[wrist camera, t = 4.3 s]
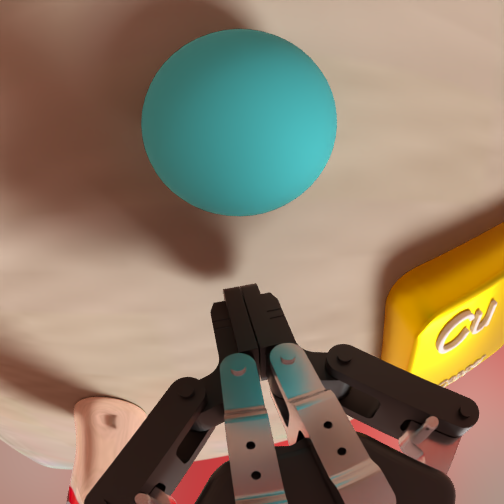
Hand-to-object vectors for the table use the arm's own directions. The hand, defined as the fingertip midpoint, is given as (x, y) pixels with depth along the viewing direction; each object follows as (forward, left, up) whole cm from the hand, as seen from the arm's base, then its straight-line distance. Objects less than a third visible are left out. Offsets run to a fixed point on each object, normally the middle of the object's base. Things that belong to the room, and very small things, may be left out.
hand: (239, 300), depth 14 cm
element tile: (-8, -18, -2) cm, 20 cm away
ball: (+8, 0, +1) cm, 8 cm away
